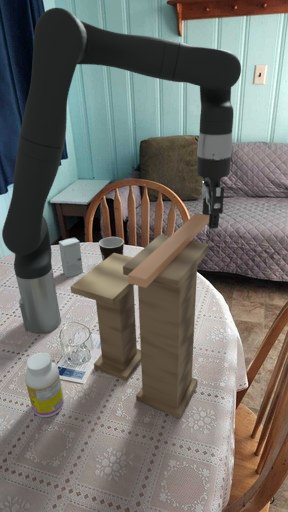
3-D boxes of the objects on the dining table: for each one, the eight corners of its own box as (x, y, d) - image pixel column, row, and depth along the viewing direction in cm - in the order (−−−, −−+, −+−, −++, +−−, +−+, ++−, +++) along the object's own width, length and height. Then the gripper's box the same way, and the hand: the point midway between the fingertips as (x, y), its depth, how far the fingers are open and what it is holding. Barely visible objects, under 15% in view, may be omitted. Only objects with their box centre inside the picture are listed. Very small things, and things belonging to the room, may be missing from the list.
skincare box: (67, 277, 122) (62, 246, 117) (62, 272, 126) (57, 241, 120) (84, 272, 125) (80, 241, 120) (78, 267, 129) (74, 236, 123)
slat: (195, 219, 76) (195, 213, 75) (208, 222, 75) (209, 215, 74) (128, 283, 55) (128, 274, 54) (145, 287, 53) (145, 279, 53)
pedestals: (120, 336, 95) (111, 216, 79) (206, 366, 85) (215, 235, 69) (78, 383, 81) (57, 250, 65) (175, 426, 71) (178, 280, 55)
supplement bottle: (33, 396, 78) (22, 351, 72) (64, 390, 80) (55, 345, 74) (32, 422, 73) (20, 376, 67) (65, 415, 74) (56, 369, 68)
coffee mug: (124, 273, 124) (123, 247, 119) (99, 273, 124) (97, 248, 120) (126, 257, 134) (125, 233, 130) (103, 257, 135) (101, 233, 130)
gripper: (192, 147, 86) (190, 211, 94) (202, 161, 74) (199, 233, 81) (224, 147, 86) (219, 210, 94) (239, 160, 74) (232, 232, 81)
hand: (209, 221), depth 88 cm, fingers open, 8 cm apart
